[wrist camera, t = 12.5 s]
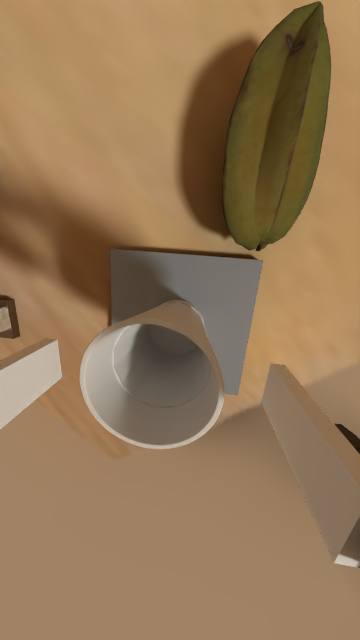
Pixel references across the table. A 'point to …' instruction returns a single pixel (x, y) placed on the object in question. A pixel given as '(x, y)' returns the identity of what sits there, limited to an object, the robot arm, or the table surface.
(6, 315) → the post
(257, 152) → the fruit
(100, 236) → the table surface
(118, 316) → the pad
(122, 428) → the cup
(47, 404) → the table surface
